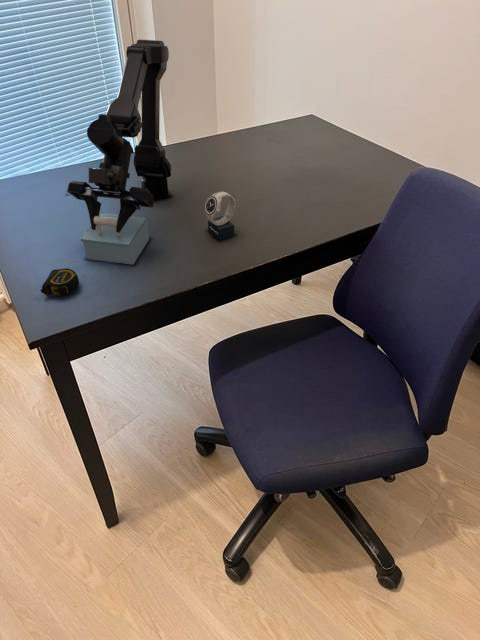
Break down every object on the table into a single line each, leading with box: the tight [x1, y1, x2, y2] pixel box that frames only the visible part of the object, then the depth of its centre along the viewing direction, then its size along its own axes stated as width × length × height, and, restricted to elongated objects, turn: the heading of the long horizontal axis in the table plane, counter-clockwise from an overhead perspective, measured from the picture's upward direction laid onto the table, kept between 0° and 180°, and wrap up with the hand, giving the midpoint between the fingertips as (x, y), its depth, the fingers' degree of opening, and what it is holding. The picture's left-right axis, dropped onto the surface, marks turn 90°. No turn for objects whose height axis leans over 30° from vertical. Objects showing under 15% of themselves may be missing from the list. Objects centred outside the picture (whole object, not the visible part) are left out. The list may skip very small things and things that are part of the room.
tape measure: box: [40, 267, 80, 297], centre depth 103 cm, size 7×7×4 cm
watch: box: [203, 191, 237, 241], centre depth 119 cm, size 6×8×11 cm
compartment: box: [82, 220, 150, 266], centre depth 115 cm, size 12×12×5 cm
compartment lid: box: [80, 212, 148, 247], centre depth 111 cm, size 12×12×5 cm
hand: (105, 230), depth 108 cm, fingers closed on compartment lid, 5 cm apart
